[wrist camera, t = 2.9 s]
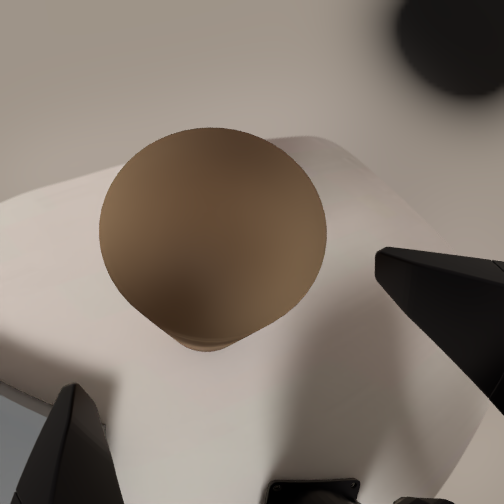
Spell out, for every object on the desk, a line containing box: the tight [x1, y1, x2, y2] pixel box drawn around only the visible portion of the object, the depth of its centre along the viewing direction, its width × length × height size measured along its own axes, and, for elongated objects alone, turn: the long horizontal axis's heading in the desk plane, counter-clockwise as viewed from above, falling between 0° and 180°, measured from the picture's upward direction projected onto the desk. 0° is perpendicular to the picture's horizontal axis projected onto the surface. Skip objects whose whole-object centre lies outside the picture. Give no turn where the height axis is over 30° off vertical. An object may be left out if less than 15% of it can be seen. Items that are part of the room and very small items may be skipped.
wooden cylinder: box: [99, 128, 327, 352], centre depth 13 cm, size 6×6×13 cm
